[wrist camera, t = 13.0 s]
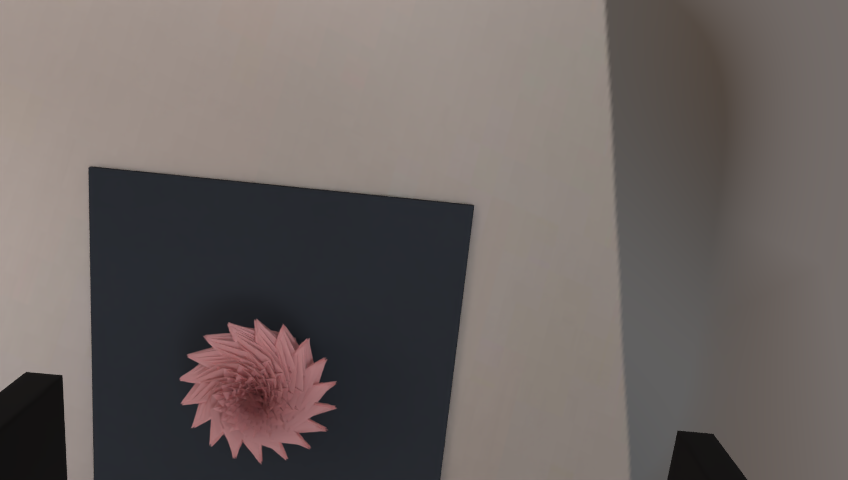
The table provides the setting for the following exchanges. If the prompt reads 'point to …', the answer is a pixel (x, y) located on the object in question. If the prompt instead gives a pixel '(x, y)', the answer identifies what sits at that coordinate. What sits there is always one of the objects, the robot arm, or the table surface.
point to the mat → (272, 320)
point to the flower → (257, 388)
